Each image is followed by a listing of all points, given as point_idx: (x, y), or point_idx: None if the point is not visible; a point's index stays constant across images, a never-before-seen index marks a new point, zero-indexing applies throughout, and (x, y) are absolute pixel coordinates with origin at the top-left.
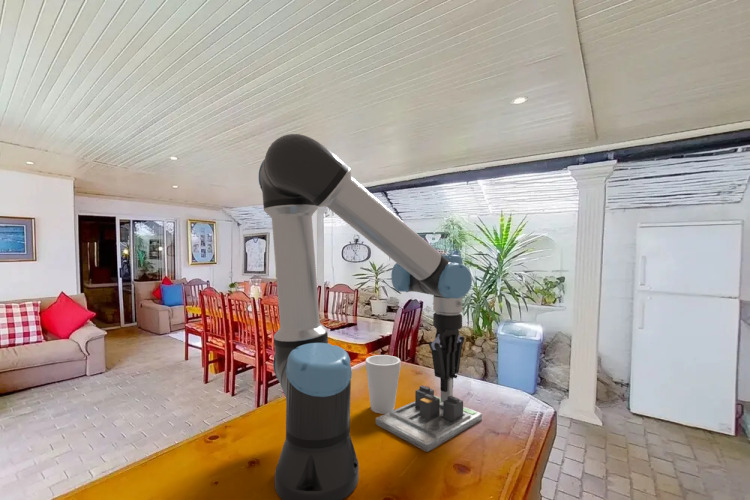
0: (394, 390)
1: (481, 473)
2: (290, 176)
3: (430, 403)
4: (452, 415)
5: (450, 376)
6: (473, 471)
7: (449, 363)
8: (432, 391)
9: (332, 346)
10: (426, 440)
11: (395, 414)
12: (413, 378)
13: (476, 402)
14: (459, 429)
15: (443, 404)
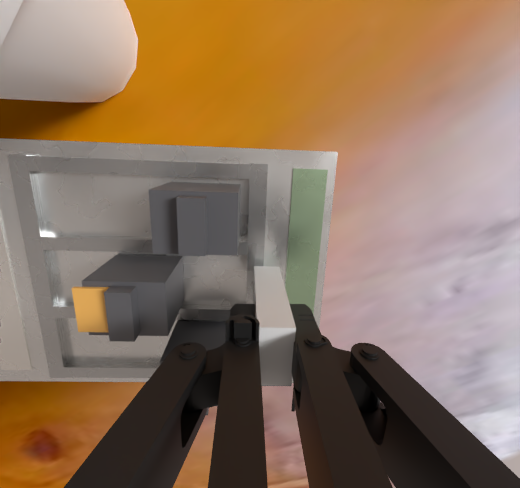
0: (31, 98)
1: (67, 477)
2: None
3: (95, 334)
4: None
5: (293, 376)
6: (57, 465)
7: (309, 450)
8: (224, 253)
9: None
10: (11, 367)
11: (16, 190)
12: None
13: (429, 294)
14: None
15: (164, 351)
